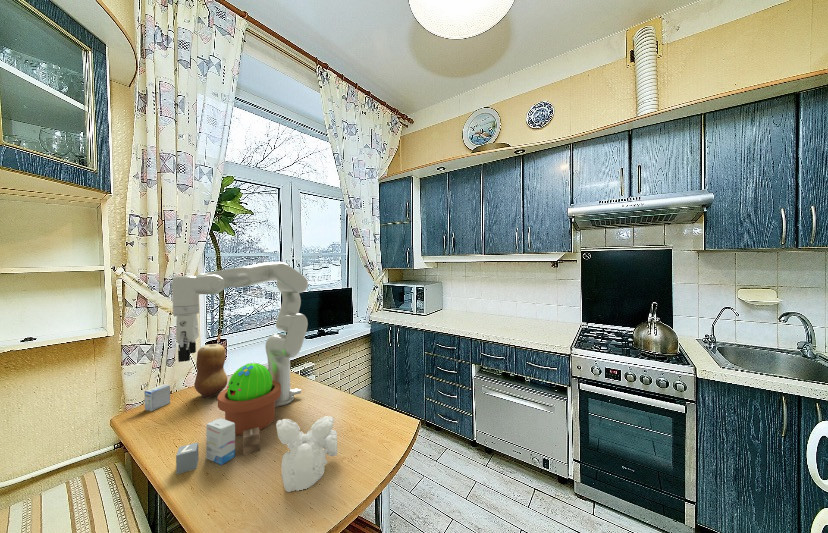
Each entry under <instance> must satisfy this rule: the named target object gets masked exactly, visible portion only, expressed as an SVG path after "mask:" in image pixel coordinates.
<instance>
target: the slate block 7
mask: <svg viewBox="0 0 828 533" xmlns="http://www.w3.org/2000/svg"><path fill="white" fill-rule="evenodd" d="M199 460H200V458H199V441H198V442H197V441H196V442H192V443H189V444H185V445H182V446H179V447H178V449H177V452H176V454H175V464H176V465H175V466H176V467H175V469H176V470H175V471H176V475H180V474H183V473H186V472H190V471H193V470H197V467H198V464H199Z"/></svg>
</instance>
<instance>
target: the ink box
mask: <svg viewBox="0 0 828 533" xmlns="http://www.w3.org/2000/svg"><path fill="white" fill-rule="evenodd" d="M205 428H206V437H205V438H206V441H205V442H206V443H205V444H206V447H205V449H206V452H205V453H206V456H205V457H206V459H207V460H209V461H211V462H213V463H216V464H218V465H220V466H223V465H224V464H226V463H227V462H228V461H231V460H232V459H234V458H235V457H236V435H235V423H233V422H230V421H228V420H225V419H224V418H222V417H219V418H217V419H214V420H212V421H210V422H207V423H206V426H205Z"/></svg>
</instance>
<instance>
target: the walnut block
mask: <svg viewBox="0 0 828 533" xmlns="http://www.w3.org/2000/svg"><path fill="white" fill-rule="evenodd" d="M260 435H261V434H260V430H259V427H257V428H253V429H249V430H245V431H243V435H242V452H243V454H242V455H243V456H246V455H249V454H252V453H257V452H260V450H261V448H260V446H261V444H260V442H261V441H260V440H261V439H260V438H261V436H260Z"/></svg>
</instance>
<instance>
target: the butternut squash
mask: <svg viewBox="0 0 828 533" xmlns="http://www.w3.org/2000/svg"><path fill="white" fill-rule="evenodd" d="M225 362H226V350H225V347H224V346H223V345H222V344H220V343H212V344H205V345H203V346H201V347H200V348H199V349H198V350H197V354H196V363H195V367H196V376H195V380H194V389H195V391H196V392H197V393H198V394H199V395H201V396H202V397H204V398H206V399H210V398H212V397H213V398H214V396H216V395H219V394H220V393H221V392H222V391H224V390H225V388H227V386H228V375H227V373H226V371H225V369H224V365H225Z"/></svg>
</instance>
